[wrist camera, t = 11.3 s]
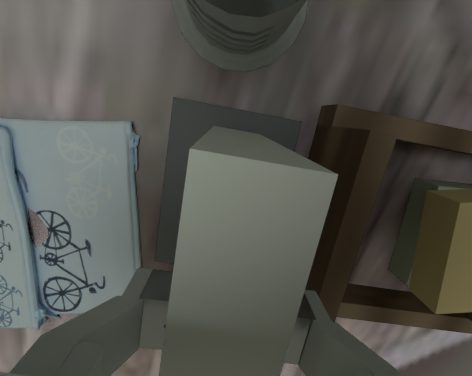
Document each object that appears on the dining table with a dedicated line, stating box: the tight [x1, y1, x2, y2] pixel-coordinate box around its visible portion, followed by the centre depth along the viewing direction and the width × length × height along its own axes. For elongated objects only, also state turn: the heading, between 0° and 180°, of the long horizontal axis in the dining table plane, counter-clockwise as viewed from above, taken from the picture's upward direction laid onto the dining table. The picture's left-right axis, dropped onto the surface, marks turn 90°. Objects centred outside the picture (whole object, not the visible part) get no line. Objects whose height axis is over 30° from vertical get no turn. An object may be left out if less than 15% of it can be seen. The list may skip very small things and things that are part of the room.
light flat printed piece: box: [0, 118, 142, 330], centre depth 22 cm, size 19×20×2 cm
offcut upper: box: [409, 189, 472, 314], centre depth 20 cm, size 6×9×3 cm, turn 1°
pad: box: [155, 97, 301, 264], centre depth 22 cm, size 10×14×1 cm
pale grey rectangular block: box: [159, 126, 338, 376], centre depth 14 cm, size 4×11×14 cm, turn 170°
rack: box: [305, 104, 472, 334], centre depth 20 cm, size 18×17×8 cm
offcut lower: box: [389, 178, 472, 285], centre depth 23 cm, size 6×9×3 cm, turn 174°
